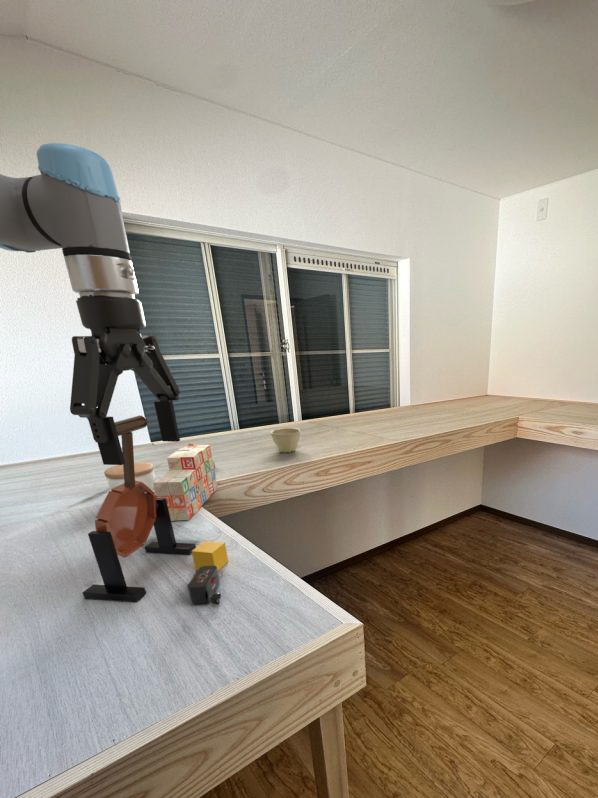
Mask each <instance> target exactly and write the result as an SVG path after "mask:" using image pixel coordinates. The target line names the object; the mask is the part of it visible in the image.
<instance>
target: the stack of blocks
mask: <svg viewBox="0 0 598 798" xmlns="http://www.w3.org/2000/svg"><path fill="white" fill-rule="evenodd" d="M166 460H167V465H168V471H166V472H165V473H164V474H162V475H161V476H160V477H158V478H157V479H155V481H154V482H153V486H154V489H153V491H154V493H155V495H156V498H166V502H167V506H168V510H169V514H170V519H171V522H172V521H189V520H191V518H192V517H193V516H194V515H195V514H196V513H197V512H198V511H199V510H200V508H201V507H202V506H203V505H204V504H205V503H206V502H207V501H208V500H209V498H211V496H213V495H214V494H215V493H216V491H218V482H217V478H216V472H215V469H214V465H213V462H214V459H213V455H212V450H211V445H210V444H198V445H197V444H193V445H191V446H187V445H185V446H183V447H180V448H179V449H177V450H176V451H175V452H173V453H172V454H170V455H168V456H167V457H166Z"/></svg>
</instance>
